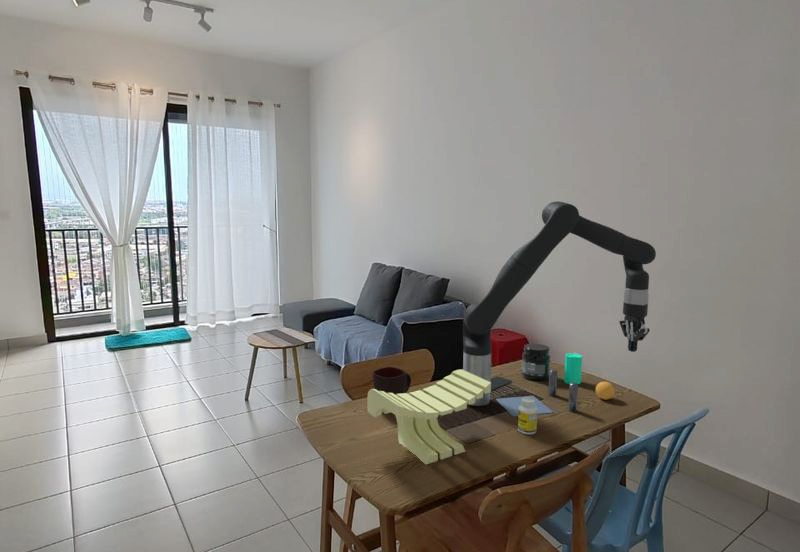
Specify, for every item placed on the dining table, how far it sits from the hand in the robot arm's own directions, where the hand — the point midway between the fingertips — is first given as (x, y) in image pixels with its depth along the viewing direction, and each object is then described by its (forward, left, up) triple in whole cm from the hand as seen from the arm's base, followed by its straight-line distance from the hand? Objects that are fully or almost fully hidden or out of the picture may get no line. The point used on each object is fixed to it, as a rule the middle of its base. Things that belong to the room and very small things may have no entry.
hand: (632, 351), depth 169 cm
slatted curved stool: (-77, -20, -17) cm, 81 cm away
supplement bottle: (-47, -17, -17) cm, 52 cm away
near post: (-26, -6, -16) cm, 31 cm away
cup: (-82, +9, -17) cm, 84 cm away
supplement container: (-23, +25, -17) cm, 38 cm away
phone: (-42, +21, -17) cm, 50 cm away
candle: (-12, +17, -17) cm, 26 cm away
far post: (-26, +7, -16) cm, 31 cm away
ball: (-10, 0, -14) cm, 16 cm away
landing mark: (-40, 0, -16) cm, 43 cm away
